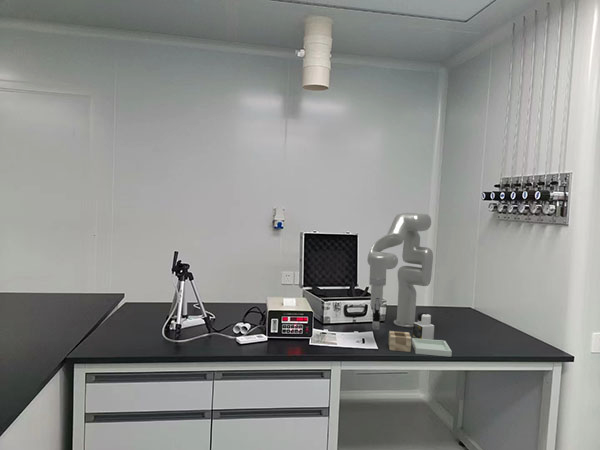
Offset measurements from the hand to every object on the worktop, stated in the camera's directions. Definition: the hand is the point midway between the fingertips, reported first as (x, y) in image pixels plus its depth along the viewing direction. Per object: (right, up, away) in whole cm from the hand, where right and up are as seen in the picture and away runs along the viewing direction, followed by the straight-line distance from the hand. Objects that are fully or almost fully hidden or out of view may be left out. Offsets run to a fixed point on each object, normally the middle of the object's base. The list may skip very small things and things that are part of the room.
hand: (376, 319), depth 212 cm
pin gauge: (0, -4, 0) cm, 4 cm away
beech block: (+9, -11, -7) cm, 16 cm away
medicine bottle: (+24, -11, +9) cm, 28 cm away
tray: (+23, -12, -8) cm, 27 cm away
